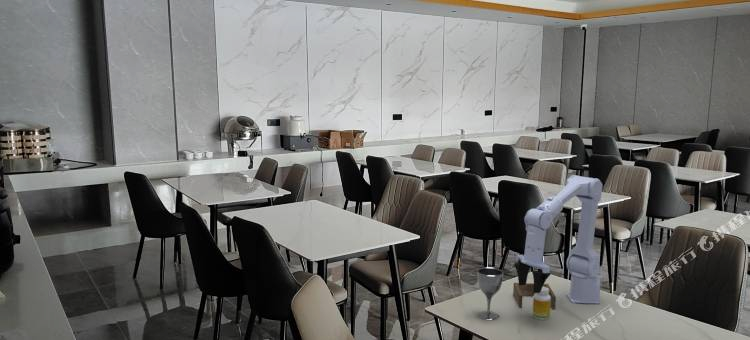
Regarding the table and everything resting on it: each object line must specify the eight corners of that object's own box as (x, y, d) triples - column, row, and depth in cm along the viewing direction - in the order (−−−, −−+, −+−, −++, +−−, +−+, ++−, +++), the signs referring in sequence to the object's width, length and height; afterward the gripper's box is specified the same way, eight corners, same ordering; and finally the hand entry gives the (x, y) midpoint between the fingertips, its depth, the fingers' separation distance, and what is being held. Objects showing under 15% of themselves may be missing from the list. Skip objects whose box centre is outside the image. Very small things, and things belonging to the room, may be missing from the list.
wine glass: (505, 315, 189) (507, 271, 187) (492, 322, 184) (494, 277, 181) (484, 308, 195) (486, 265, 192) (471, 315, 189) (472, 271, 186)
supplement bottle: (550, 321, 185) (552, 292, 184) (532, 319, 186) (534, 290, 185) (548, 314, 190) (550, 286, 189) (531, 312, 191) (533, 284, 190)
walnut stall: (547, 295, 206) (548, 283, 205) (555, 309, 194) (555, 296, 194) (513, 294, 207) (513, 282, 206) (518, 308, 195) (519, 295, 194)
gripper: (510, 241, 188) (505, 282, 189) (538, 253, 175) (533, 296, 176) (528, 241, 191) (523, 281, 192) (557, 252, 177) (552, 295, 179)
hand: (529, 288), depth 184 cm, fingers open, 7 cm apart
